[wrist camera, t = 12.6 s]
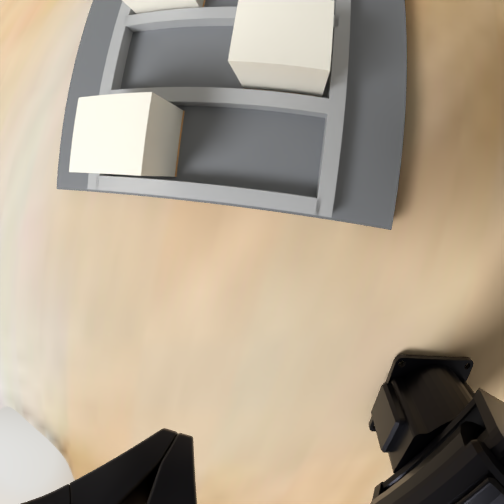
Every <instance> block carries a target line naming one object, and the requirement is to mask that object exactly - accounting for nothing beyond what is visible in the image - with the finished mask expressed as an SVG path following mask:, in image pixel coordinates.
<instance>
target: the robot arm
mask: <svg viewBox="0 0 504 504" xmlns="http://www.w3.org/2000/svg"><path fill="white" fill-rule="evenodd" d="M401 361H404V362H403V363H402V364H399V362H401ZM467 363H468V364H467ZM466 364H467V365H466ZM465 365H466V366H465ZM472 367H473V361H472V360H471V359H470V358H468V357H438V356H418V355H398V356H397V357H396V358H395V359H394V361H393V363H392V366H391V369H390V372H389V375H388V377H387V380H386V382H385V383H384V384H383V385H382V386H381V389H380V391H379V394H378V396H377V399H376V401H375V404H374V406H373V409H372V411H371V414H372V417H371V420H370V422H369V428H370V430H371V431H376V432H377V436H378V440H379V444H380V448H381V450H382V451H383V452H388V454H389V457H390V461H391V465H392V469H393V472H394V473H395V474H394V475H392V476H391V477H390V478H389V479H387V480H386V481H385V482H381V483H380V484H379V485H377V486H376V487H375V490H374V495H373V499H372V502H371V504H504V402H502V401H501V400H499V399H497V398H496V397H494V396H492V395H490V394H489V393H487V392H485V391H484V390H482V389H480V388H479V389H478V390H477V391H476V393H474V392H473V391H472V389H471V388H470V387H469V385H468V384H467V382H466V380H467V378H468V376H469V374H470V371H471V369H472ZM374 425H375V426H374ZM21 504H197V498H196V484H195V467H194V447H193V437H192V436H189V435H185V434H182V433H179V434H178V433H177V432H175V431H172V430H169V429H165V428H164V429H161V430H160V431H158V432H157V433H155V434H153V435H152V436H150V437H149V438H147V439H146V440H144V441H142V442H141V443H139V444H138V445H136V446H134V447H133V448H131V449H129V450H128V451H126V452H124V453H123V454H121V455H119V456H118V457H116V458H114V459H113V460H111V461H109V462H107V463H106V464H104V465H102V466H100V467H99V468H97V469H95V470H93V471H92V472H90V473H88V474H86V475H84V476H82V477H81V478H79V479H77V480H75V481H73V482H71V483H70V485H69V484H67V485H65V486H63V487H61V488H59V489H57V490H55V491H53V492H51V493H49V494H47V495H44V496H42V497H39V498H36V499H33V500H31V501H28V502H25V503H21Z"/></svg>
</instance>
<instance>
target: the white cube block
mask: <svg viewBox="0 0 504 504" xmlns="http://www.w3.org/2000/svg"><path fill="white" fill-rule="evenodd" d="M333 21H334V0H238V5H237V11H236V16H235V22H234V27H233V33H232V39H231V45H230V51H229V57H228V62H229V64H230V66H231V67H232V69H233V71H234V73H235V74H236V76H237V78H238V80H239V81H240V83H241V85H242V87H243V88H248V89H261V90H272V91H282V92H291V93H299V94H306V95H313V96H320V97H322V95H323V92H324V88H325V85H326V82H327V79H328V76H329V72H330V65H331V52H332V37H333Z"/></svg>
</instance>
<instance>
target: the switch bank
mask: <svg viewBox="0 0 504 504" xmlns="http://www.w3.org/2000/svg"><path fill="white" fill-rule="evenodd" d="M237 5H238V0H204V2H203V7H199V8H184V9H173V10H163V11H155V12H147V13H140V14H136V13H135V12H134V11H133V10H132V9H131V8H130V7H129V6H128V5H126V4H125V3H124V2H123V1H122V0H93V3H92V6H91V8H90V11H89V14H88V18H87V21H86V24H85V27H84V31H83V34H82V38H81V41H80V45H79V49H78V52H77V56H76V60H75V64H74V69H73V73H72V78H71V82H70V87H69V92H68V98H67V103H66V109H65V115H64V122H63V129H62V136H61V144H60V154H59V164H58V176H57V189H65V190H79V191H92V192H105V193H116V194H127V195H138V196H149V197H158V198H168V199H178V200H187V201H196V202H204V203H213V204H221V205H229V206H237V207H245V208H252V209H260V210H267V211H275V212H282V213H289V214H296V215H303V216H309V217H316V218H322V219H329V220H335V221H341V222H348V223H354V224H360V225H366V226H372V227H377V228H383V229H389V230H391V229H392V223H393V217H394V211H395V204H396V197H397V190H398V183H399V175H400V167H401V157H402V147H403V136H404V123H405V107H406V82H407V38H406V14H405V0H334V21H333V37H332V52H331V65H330V72H329V76H328V79H327V82H326V85H325V88H324V92H323V95H322V97H320V96H313V95H306V94H299V93H291V92H282V91H272V90H261V89H248V88H243V87H242V85H241V83H240V81H239V80H238V78H237V76H236V74H235V73H234V71H233V69H232V67H231V66H230V64H229V62H228V57H229V51H230V45H231V39H232V33H233V27H234V22H235V16H236V11H237ZM139 92H153V93H155V94H156V95H158V96H160V97H162V98H163V99H165V100H167V101H168V102H170V103H172V104H173V105H175V106H177V107H178V108H180V109H181V110H183V115H182V122H181V130H180V137H179V145H178V153H177V162H176V171H175V177H170V176H136V175H120V174H102V173H78V172H69V165H70V155H71V146H72V138H73V130H74V123H75V116H76V110H77V104H78V99H79V97H88V96H97V95H108V94H121V93H139Z"/></svg>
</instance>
